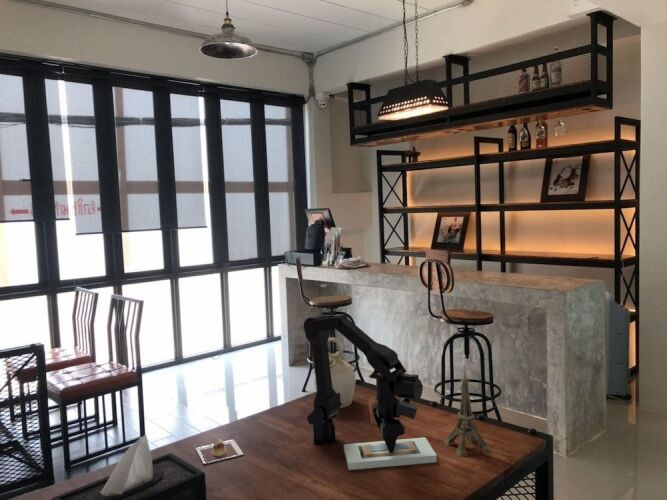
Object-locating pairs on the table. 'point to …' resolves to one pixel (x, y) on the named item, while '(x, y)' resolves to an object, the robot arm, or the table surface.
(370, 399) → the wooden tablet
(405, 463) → the pale grey open frame
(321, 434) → the robot arm
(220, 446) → the dessert
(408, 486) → the table surface
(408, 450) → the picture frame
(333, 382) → the jug
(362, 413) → the table surface
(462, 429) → the eiffel tower
